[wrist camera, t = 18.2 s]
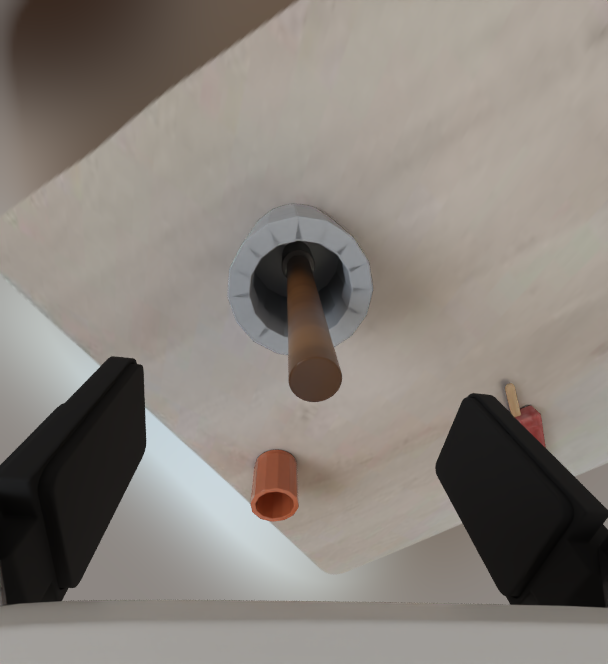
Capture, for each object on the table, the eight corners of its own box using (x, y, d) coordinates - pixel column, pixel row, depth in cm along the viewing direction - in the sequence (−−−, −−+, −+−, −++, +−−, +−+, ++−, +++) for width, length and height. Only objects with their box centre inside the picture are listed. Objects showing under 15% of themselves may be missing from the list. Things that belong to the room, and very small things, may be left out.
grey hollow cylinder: (227, 244, 29) (196, 278, 19) (306, 181, 27) (318, 182, 17) (286, 317, 32) (286, 378, 22) (361, 264, 30) (397, 306, 21)
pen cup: (246, 462, 40) (241, 503, 35) (279, 442, 39) (279, 481, 34) (272, 485, 42) (270, 527, 37) (304, 467, 41) (307, 507, 36)
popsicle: (535, 380, 35) (552, 470, 41) (524, 371, 36) (542, 459, 42) (492, 397, 35) (515, 483, 42) (483, 387, 37) (507, 472, 43)
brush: (276, 252, 29) (260, 374, 11) (300, 234, 28) (325, 331, 10) (293, 276, 30) (306, 424, 12) (317, 259, 29) (368, 386, 11)
